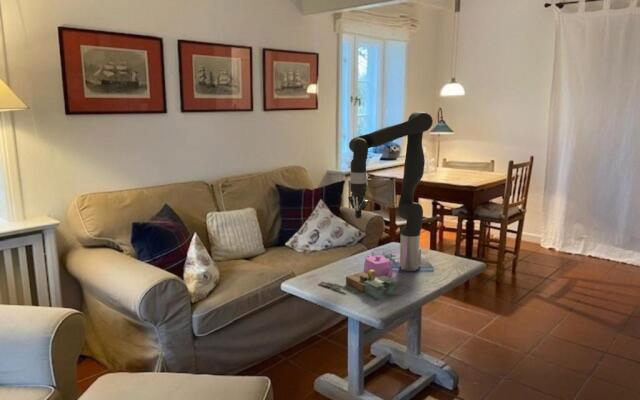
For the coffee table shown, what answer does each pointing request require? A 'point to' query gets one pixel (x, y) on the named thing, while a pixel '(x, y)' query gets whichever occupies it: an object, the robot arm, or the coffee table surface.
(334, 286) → the driftwood
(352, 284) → the block set
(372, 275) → the yellow-capped grey beam
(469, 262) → the coffee table surface
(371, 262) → the teapot
